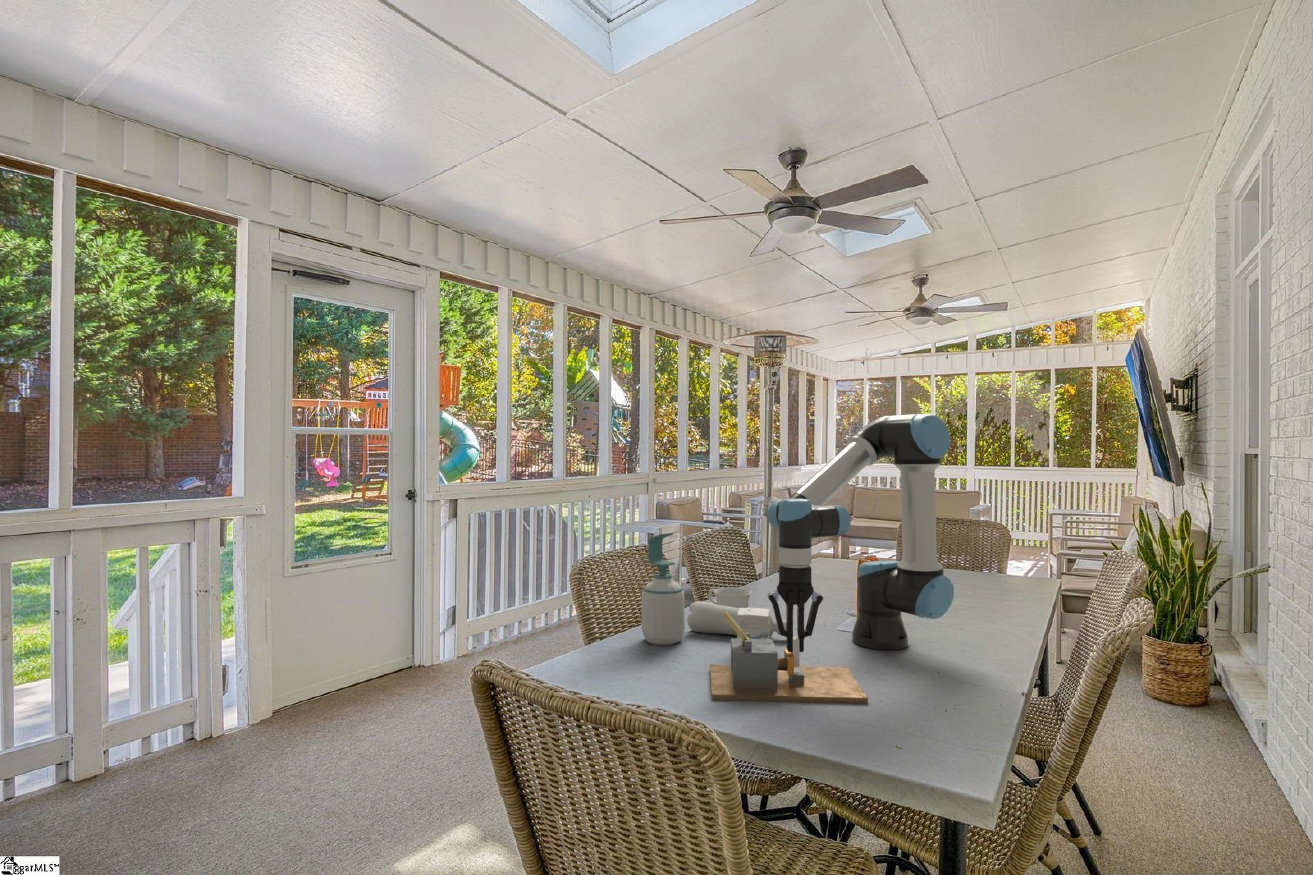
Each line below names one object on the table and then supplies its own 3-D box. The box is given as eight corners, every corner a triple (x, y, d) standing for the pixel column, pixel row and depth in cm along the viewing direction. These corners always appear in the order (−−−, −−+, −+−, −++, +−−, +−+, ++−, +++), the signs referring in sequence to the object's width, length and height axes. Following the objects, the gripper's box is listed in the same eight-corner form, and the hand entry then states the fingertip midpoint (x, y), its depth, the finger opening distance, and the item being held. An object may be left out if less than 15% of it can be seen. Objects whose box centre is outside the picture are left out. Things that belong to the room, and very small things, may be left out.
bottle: (684, 625, 197) (785, 638, 187) (690, 595, 202) (789, 607, 192) (691, 635, 204) (789, 648, 194) (697, 606, 209) (793, 618, 199)
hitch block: (847, 672, 166) (847, 627, 166) (867, 703, 146) (867, 651, 146) (710, 669, 168) (709, 625, 168) (711, 700, 148) (711, 649, 148)
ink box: (768, 660, 175) (768, 615, 175) (736, 658, 176) (736, 614, 177) (770, 650, 183) (769, 608, 183) (739, 648, 185) (738, 606, 185)
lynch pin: (790, 666, 159) (790, 649, 160) (794, 675, 154) (793, 657, 154) (734, 665, 160) (734, 648, 160) (735, 674, 154) (735, 656, 154)
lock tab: (745, 641, 159) (749, 638, 159) (747, 646, 155) (751, 643, 155) (721, 611, 160) (725, 608, 160) (722, 616, 155) (726, 613, 155)
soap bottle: (661, 650, 184) (661, 536, 184) (632, 640, 193) (632, 532, 193) (693, 641, 192) (693, 533, 192) (664, 632, 201) (664, 529, 201)
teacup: (718, 614, 222) (718, 584, 222) (758, 621, 214) (758, 590, 214) (699, 622, 213) (699, 590, 213) (740, 629, 204) (740, 597, 204)
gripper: (820, 562, 160) (820, 661, 160) (765, 561, 161) (765, 660, 160) (826, 568, 153) (826, 671, 152) (769, 567, 153) (769, 670, 153)
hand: (795, 665), depth 156 cm, fingers closed
